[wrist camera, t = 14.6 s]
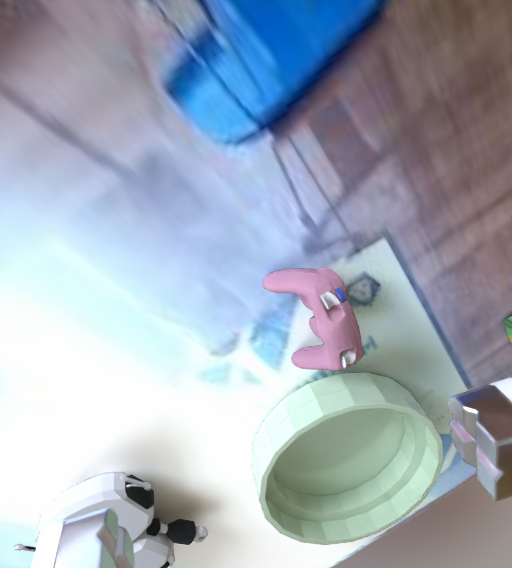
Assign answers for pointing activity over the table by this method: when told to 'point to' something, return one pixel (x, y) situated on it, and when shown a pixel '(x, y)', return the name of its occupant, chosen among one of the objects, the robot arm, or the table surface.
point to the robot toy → (124, 516)
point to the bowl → (344, 458)
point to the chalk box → (509, 327)
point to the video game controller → (322, 317)
